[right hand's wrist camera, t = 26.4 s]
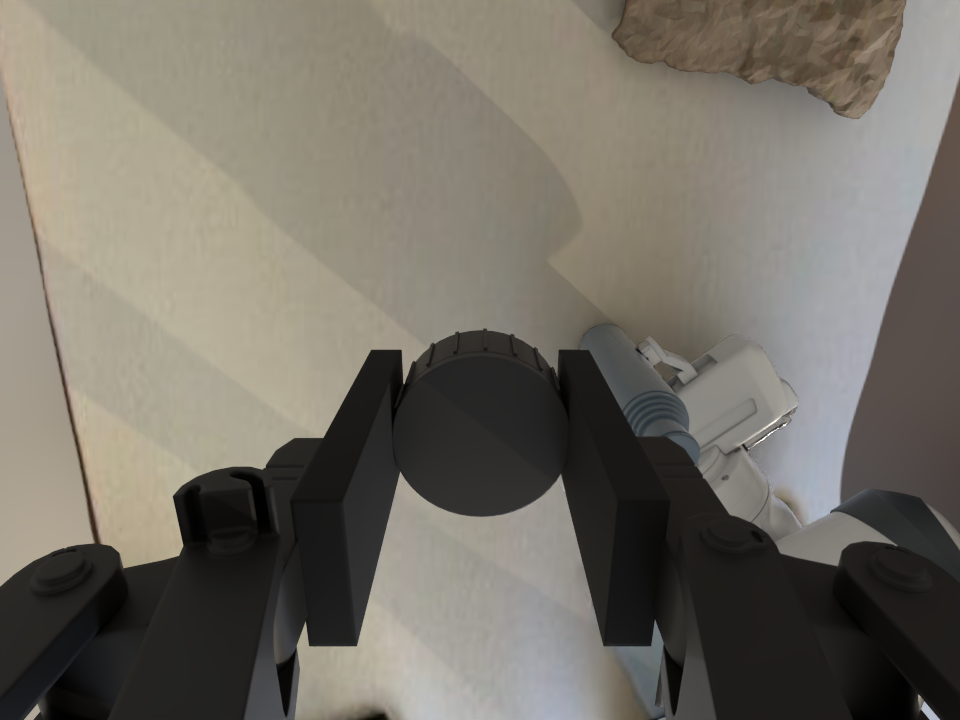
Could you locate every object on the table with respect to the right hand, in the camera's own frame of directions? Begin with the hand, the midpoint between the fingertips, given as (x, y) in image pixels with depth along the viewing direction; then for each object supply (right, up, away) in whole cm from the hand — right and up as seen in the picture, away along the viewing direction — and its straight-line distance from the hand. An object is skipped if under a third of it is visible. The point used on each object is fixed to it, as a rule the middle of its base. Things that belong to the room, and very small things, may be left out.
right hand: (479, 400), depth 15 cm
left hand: (+11, +1, +33) cm, 35 cm away
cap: (0, -1, -2) cm, 2 cm away
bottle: (+12, +2, +39) cm, 41 cm away
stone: (+21, +29, +30) cm, 47 cm away
